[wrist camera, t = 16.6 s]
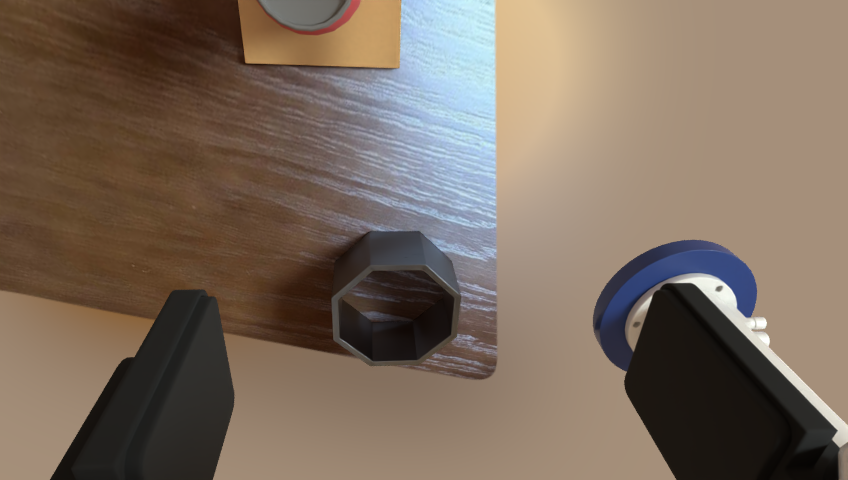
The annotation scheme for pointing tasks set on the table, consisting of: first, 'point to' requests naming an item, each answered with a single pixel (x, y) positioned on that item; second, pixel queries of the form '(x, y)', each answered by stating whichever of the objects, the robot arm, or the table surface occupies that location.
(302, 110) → the table surface
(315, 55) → the cork mat
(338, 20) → the beer can
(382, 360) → the black octagonal pot
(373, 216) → the table surface
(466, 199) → the table surface
